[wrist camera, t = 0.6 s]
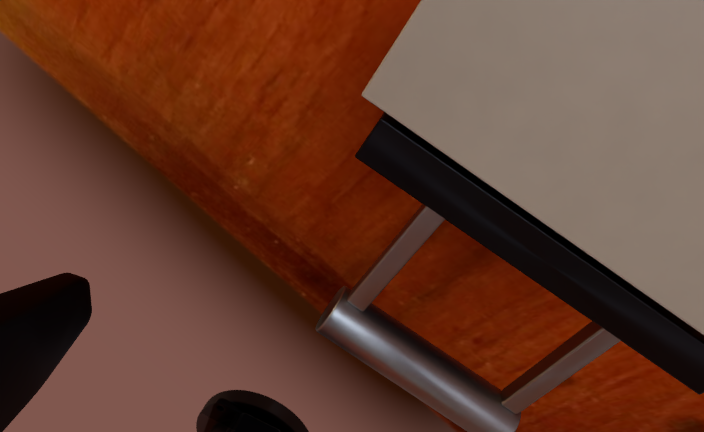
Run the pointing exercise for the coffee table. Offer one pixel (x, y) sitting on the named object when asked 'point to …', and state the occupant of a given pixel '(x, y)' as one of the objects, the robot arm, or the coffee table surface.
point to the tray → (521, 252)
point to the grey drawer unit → (571, 122)
